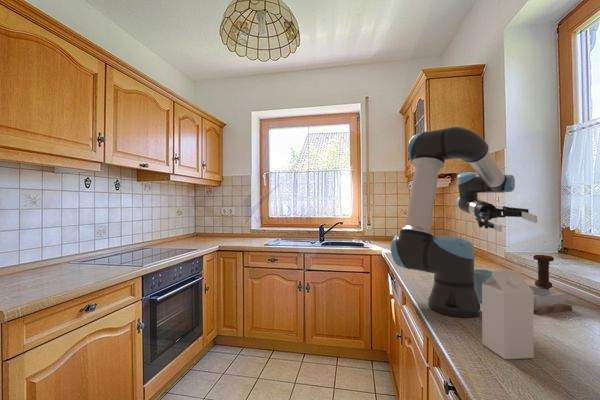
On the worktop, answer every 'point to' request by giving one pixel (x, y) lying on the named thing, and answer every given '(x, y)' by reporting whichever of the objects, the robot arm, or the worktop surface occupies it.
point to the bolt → (543, 271)
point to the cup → (480, 281)
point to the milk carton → (508, 315)
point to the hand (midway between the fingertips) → (518, 224)
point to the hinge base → (548, 301)
